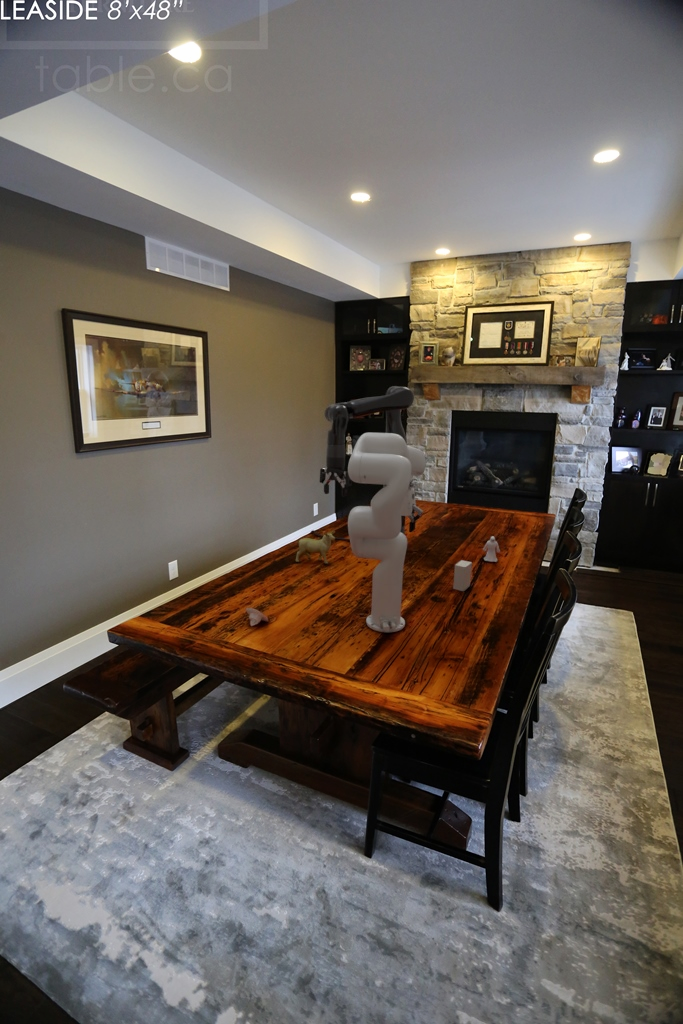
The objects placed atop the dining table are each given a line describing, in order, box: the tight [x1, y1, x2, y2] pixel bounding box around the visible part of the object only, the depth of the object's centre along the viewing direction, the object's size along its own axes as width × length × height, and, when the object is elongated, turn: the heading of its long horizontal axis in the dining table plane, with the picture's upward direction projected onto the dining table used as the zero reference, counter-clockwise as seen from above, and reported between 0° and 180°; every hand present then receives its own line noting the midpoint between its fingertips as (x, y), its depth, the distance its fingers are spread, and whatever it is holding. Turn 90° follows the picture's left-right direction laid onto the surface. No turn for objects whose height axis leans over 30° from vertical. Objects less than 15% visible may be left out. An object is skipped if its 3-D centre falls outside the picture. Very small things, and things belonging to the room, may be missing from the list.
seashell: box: [245, 607, 269, 627], centre depth 160 cm, size 8×5×8 cm
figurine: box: [482, 535, 501, 563], centre depth 223 cm, size 8×8×12 cm
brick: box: [452, 559, 473, 592], centre depth 193 cm, size 4×7×10 cm, turn 146°
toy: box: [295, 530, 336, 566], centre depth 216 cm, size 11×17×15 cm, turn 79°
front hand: (399, 529), depth 186 cm, fingers open, 9 cm apart
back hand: (335, 495), depth 204 cm, fingers open, 8 cm apart
